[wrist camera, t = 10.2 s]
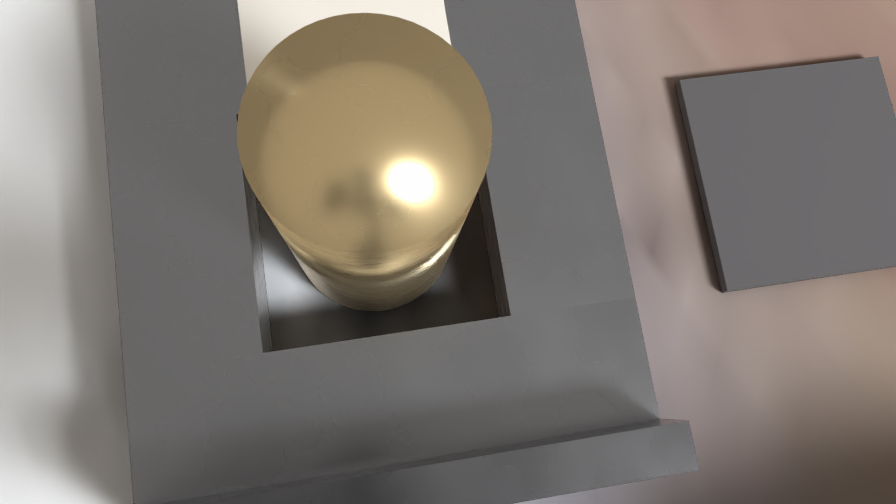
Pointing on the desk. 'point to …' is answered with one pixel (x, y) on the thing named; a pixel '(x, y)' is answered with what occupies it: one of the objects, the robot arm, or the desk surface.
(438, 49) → the brass knob
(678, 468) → the plate
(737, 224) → the grey square plate
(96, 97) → the desk surface
